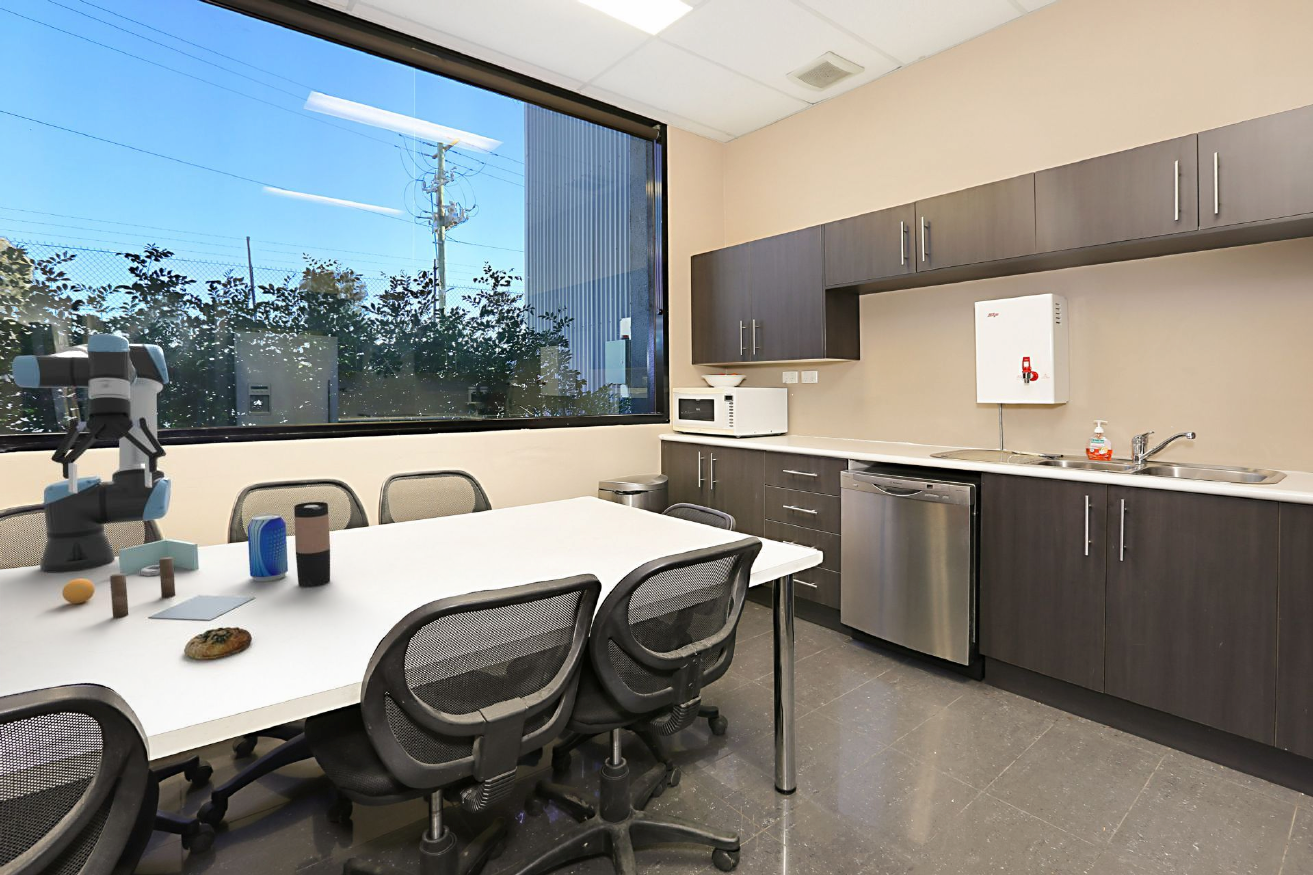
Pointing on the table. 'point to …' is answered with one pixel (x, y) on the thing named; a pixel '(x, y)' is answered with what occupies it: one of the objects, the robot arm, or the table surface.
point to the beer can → (267, 547)
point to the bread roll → (218, 643)
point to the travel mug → (312, 543)
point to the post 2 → (167, 577)
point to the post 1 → (119, 595)
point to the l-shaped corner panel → (157, 556)
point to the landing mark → (202, 607)
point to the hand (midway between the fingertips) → (111, 489)
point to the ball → (78, 591)
